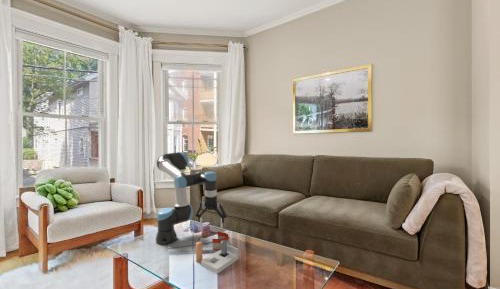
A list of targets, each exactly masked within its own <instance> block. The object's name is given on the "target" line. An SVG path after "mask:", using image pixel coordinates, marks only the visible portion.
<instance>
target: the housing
mask: <svg viewBox="0 0 500 289" xmlns="http://www.w3.org/2000/svg"><path fill="white" fill-rule="evenodd" d="M239 251H240V249H239V248H238V247H235V246H232V245H230V244H229V243H228V244H227V256H226V257H222V256H221V250H216V252H214V253H212V254H210V255H209V256H208V257H206V258H204V259H203V260H202V261H201V262H200V265H201V267H203V268H206V269H208V270H209V271H211V272H213V273H215V274H219V273H221V272H222V271H223V270H225V269H227V268H228V267H229V266H231V265H232V264H234V263H235V262H237V261H238V260H239V259H240V252H239Z"/></svg>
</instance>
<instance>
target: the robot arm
mask: <svg viewBox="0 0 500 289" xmlns="http://www.w3.org/2000/svg"><path fill="white" fill-rule="evenodd" d="M188 166H189V158H188V156H187V154H186V152H183V151H182V152H181V151H180V152H179V151H178V152H170V153H163V154H161V155H159V157H158V158H157V160H156V167H157V169H158V170H159V171H161V172H164V174H166V175H167V176H168V177H170V178H171V179H172V180H173V185H174V197H175V203H174V205H173V206H174V207H163V208H161V209H160V210H158V212H157V213H156V216H157V217H156V219H157V220H156V222H157V232H156V233H157V234H156V237H155V243H156V244H158V245H163V246H164V245H169V244H170V245H171V244H173V243H175V241H177V239H178V238H177V237H178V235H177V233H176V230H175V225H178V224H182V223H185V222H188V221H191V220H192V218H193V216H194V209H193V206H192V205H191V204H190V202H188V198H187V188H188V187H192V186H198V185H203V186H204V202H203V201H201V202H200V203H199V208H198V210H197V211H196V214H195V217H197V218H198V223H199V228H200V229H201V228H202V227H203V215H204V213H205V212H206V211H207V210H208V211H215V212H216V213H217V214H218V216H219V217H220V229H223V225H224V223H225V219H226V218H227V217H228V215H227V212H226V211H225V208H224V207H223V204H222V202H218V201H217V198H218V197H217V196H218V194H217V192H218V190H217V179H218V178H217V173H216V171H208V170H207V171H205V172H204V171H199V170H198V171H196V172H195V173H191V174H190V173H189V174H186V173H185V171H186V169H187V167H188ZM217 206H218V207H219V208H218V207H217ZM203 207H204V209H203V210H202V208H203ZM201 210H202V211H201ZM200 212H201V213H200Z"/></svg>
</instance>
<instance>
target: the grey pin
mask: <svg viewBox="0 0 500 289" xmlns="http://www.w3.org/2000/svg"><path fill="white" fill-rule="evenodd" d="M221 256H222V257H226V256H227V240H221Z"/></svg>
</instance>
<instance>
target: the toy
mask: <svg viewBox="0 0 500 289" xmlns="http://www.w3.org/2000/svg"><path fill="white" fill-rule="evenodd" d="M216 234H217V238H212V239H211V242H212V250H213V251H219V250H221V240H227V244H228V245H229V243H230V237H229V234H228V233H227V232H223V231H216Z"/></svg>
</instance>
